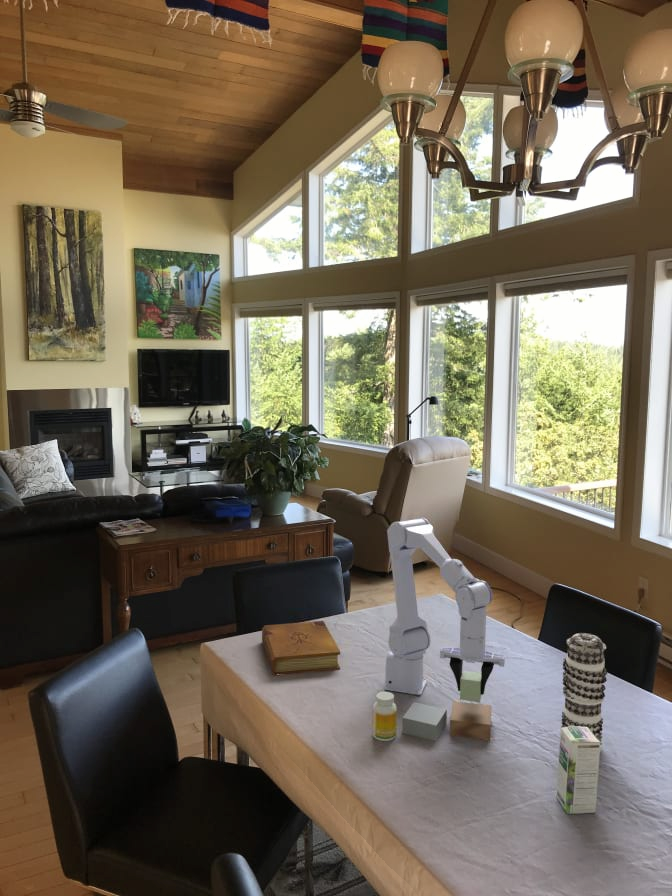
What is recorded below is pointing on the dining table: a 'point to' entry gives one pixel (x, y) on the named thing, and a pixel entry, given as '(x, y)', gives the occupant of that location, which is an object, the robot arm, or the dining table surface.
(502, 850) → the dining table surface
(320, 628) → the diary
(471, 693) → the sage block
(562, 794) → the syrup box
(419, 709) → the slate block
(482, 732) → the walnut block
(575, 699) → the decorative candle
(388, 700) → the supplement bottle
